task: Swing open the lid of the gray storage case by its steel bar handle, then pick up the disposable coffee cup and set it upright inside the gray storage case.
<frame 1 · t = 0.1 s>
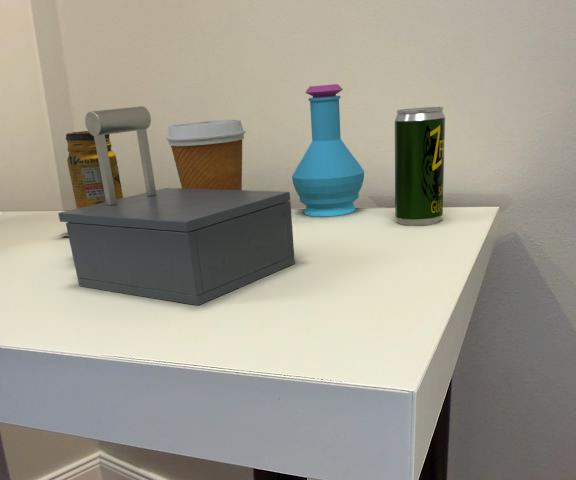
perfume bottle: (329, 212, 85), on the table
lid: (168, 160, 57), point 10 cm above the table, hinge at 0.0°
condiment: (101, 231, 86), on the table
gray storage case: (188, 274, 61), on the table
disposable coffee cup: (216, 226, 83), on the table
beer can: (418, 223, 76), on the table
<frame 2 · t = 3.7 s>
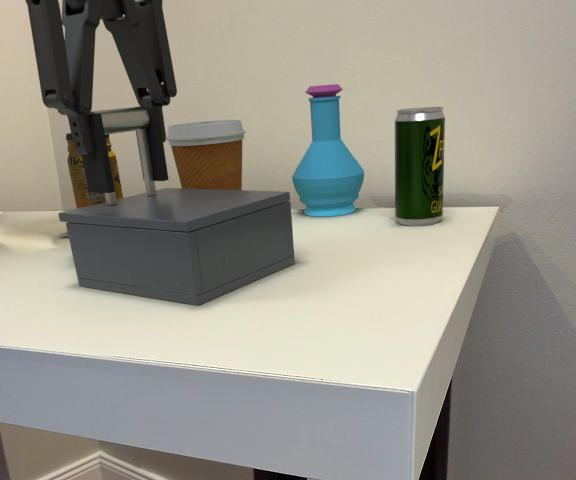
hand: (129, 185, 61), 8 cm above the table, tool pointing down, fingers closed on lid, 6 cm apart
lid: (168, 160, 57), point 10 cm above the table, hinge at 0.0°, touching gripper
everything else where it was.
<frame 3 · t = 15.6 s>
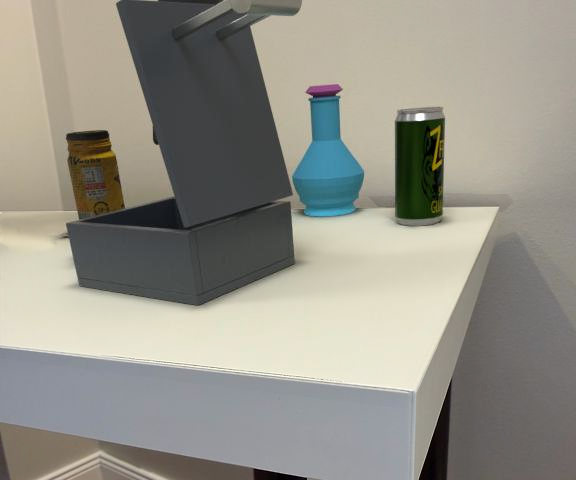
hand: (214, 204, 82), 3 cm above the table, tool pointing down, fingers closed on disposable coffee cup, 8 cm apart
lid: (252, 96, 50), point 15 cm above the table, hinge at 76.8°
disposable coffee cup: (216, 226, 83), on the table, touching gripper
everything else where it was.
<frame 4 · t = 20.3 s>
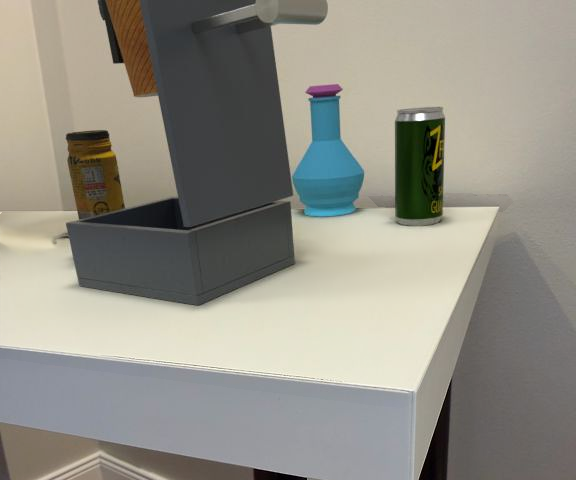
hand: (166, 55, 53), 18 cm above the table, tool pointing down, fingers closed on disposable coffee cup, 8 cm apart
lid: (266, 101, 49), point 14 cm above the table, hinge at 85.4°, touching gripper
disposable coffee cup: (172, 96, 54), point 15 cm above the table, touching gripper
everything else where it was.
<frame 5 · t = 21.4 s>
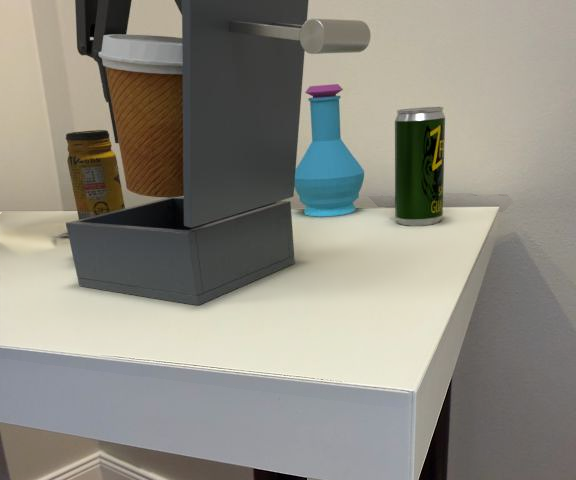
hand: (169, 140, 56), 12 cm above the table, tool pointing down, fingers closed on disposable coffee cup, 9 cm apart
lid: (289, 116, 49), point 13 cm above the table, hinge at 100.3°
disposable coffee cup: (162, 190, 59), point 8 cm above the table, touching gripper
everything else where it was.
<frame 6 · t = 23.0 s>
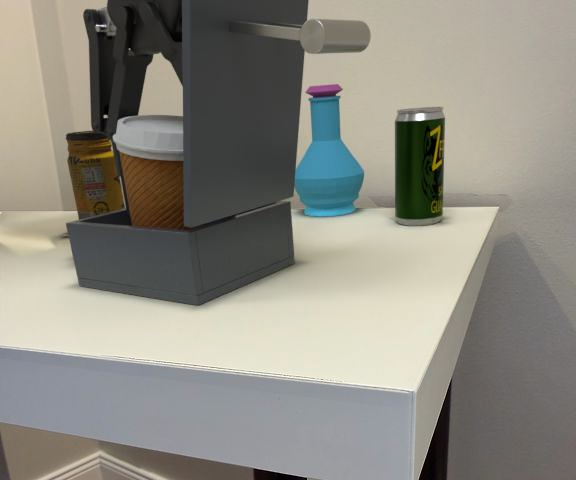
hand: (179, 215, 59), 6 cm above the table, tool pointing down, fingers closed on disposable coffee cup, 9 cm apart
disposable coffee cup: (172, 260, 62), point 1 cm above the table, touching gripper
everything else where it was.
when the fingers open (6 cm above the table, at t = 24.1 s): disposable coffee cup stays where it is, resting on gray storage case.
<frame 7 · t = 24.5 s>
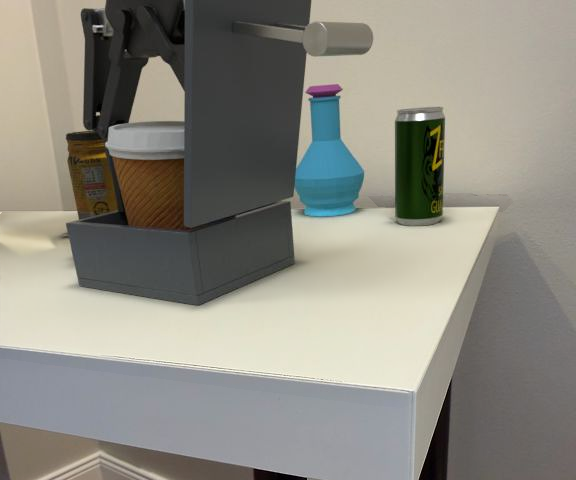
hand: (174, 213, 59), 6 cm above the table, tool pointing down, fingers open, 11 cm apart
lid: (290, 118, 49), point 13 cm above the table, hinge at 101.4°, touching gripper, hand
disposable coffee cup: (172, 263, 62), point 1 cm above the table, touching gray storage case, gripper
everything else where it was.
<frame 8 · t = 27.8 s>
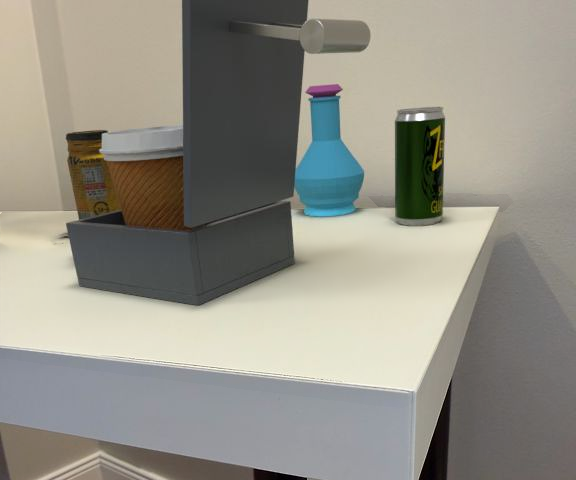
lid: (289, 116, 49), point 13 cm above the table, hinge at 100.3°
disposable coffee cup: (172, 266, 62), point 1 cm above the table, touching gray storage case
everything else where it was.
at the end: lid at +100° (first picture: +0°); disposable coffee cup inside the target area in the gray storage case (2.0 cm from its centre), point 0.6 cm above the gray storage case's base; disposable coffee cup tilted 0° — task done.
